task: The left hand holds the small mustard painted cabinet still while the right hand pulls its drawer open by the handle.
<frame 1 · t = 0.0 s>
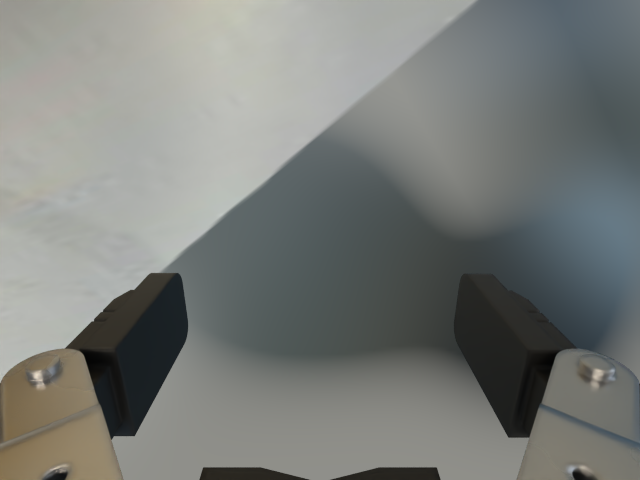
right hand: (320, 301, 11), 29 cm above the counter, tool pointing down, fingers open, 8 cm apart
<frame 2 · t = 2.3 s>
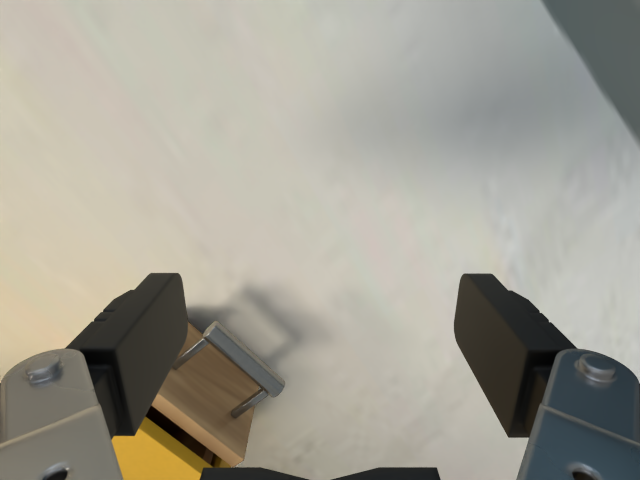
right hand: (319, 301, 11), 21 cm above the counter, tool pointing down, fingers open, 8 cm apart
cabinet: (141, 407, 39), on the counter
drawer: (158, 419, 33), point 5 cm above the counter, slide at 1.1 cm
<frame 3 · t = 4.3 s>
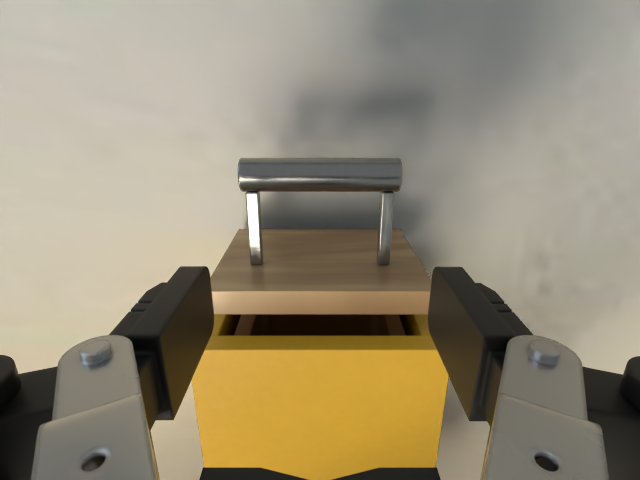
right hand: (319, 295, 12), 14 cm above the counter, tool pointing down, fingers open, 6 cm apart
cabinet: (319, 370, 30), on the counter, touching left hand
drawer: (319, 350, 23), point 5 cm above the counter, slide at 1.1 cm
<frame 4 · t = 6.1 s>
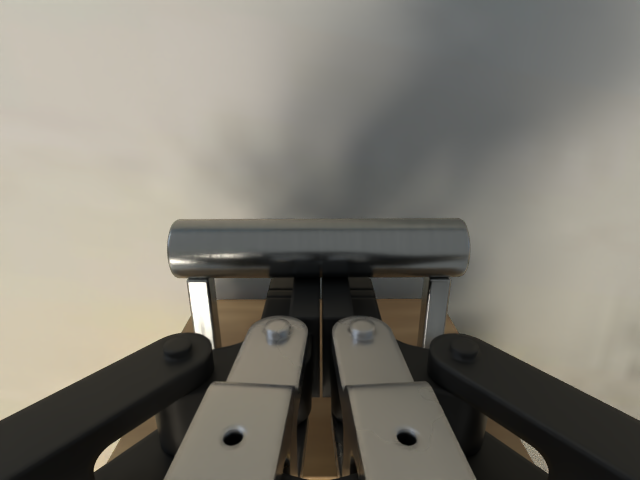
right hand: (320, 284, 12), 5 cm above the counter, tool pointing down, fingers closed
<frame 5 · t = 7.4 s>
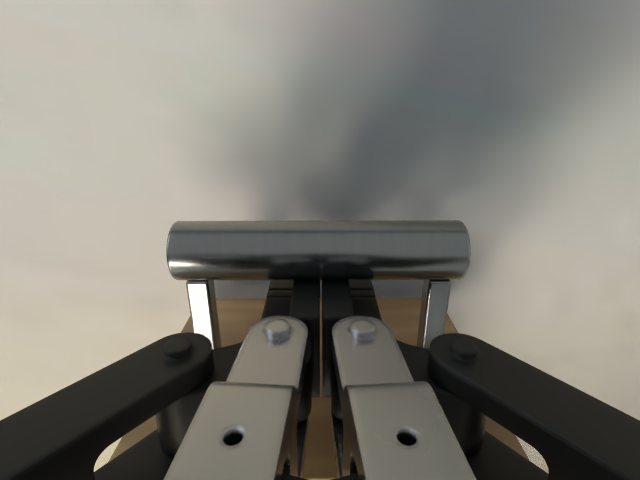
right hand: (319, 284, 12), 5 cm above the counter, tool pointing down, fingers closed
when the left hand's fingers open (6 cm above the counter, at t = 9.2 s): cabinet stays where it is, on the counter.
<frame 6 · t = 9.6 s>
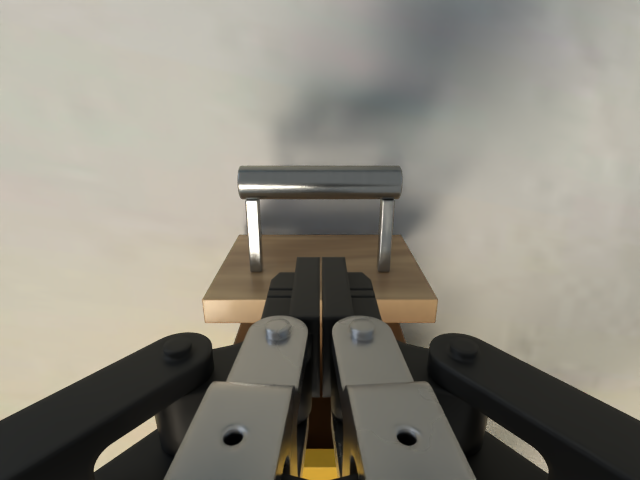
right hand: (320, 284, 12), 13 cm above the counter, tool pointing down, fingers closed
cabinet: (320, 438, 32), on the counter
drawer: (320, 357, 23), point 5 cm above the counter, slide at 7.5 cm
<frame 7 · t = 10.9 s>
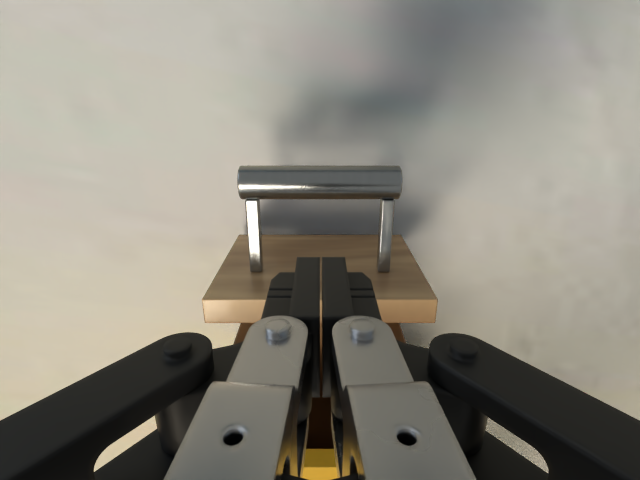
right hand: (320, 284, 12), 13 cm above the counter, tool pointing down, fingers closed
cabinet: (320, 438, 32), on the counter
drawer: (320, 357, 23), point 5 cm above the counter, slide at 7.5 cm
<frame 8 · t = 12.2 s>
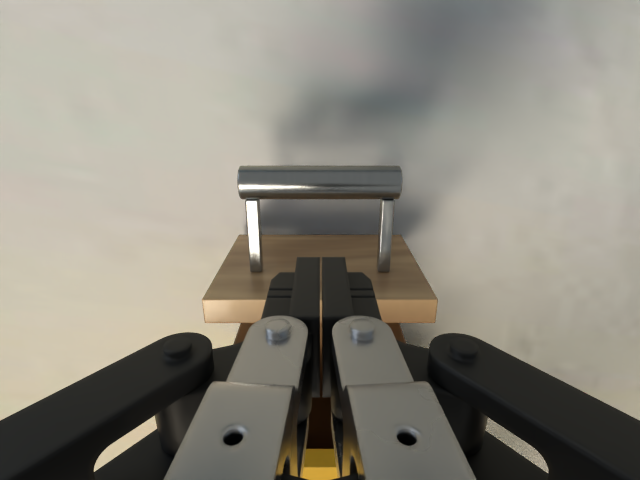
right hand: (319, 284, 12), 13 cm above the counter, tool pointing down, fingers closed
cabinet: (320, 438, 32), on the counter
drawer: (320, 357, 23), point 5 cm above the counter, slide at 7.5 cm
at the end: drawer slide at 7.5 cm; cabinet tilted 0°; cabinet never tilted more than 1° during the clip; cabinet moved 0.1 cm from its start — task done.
